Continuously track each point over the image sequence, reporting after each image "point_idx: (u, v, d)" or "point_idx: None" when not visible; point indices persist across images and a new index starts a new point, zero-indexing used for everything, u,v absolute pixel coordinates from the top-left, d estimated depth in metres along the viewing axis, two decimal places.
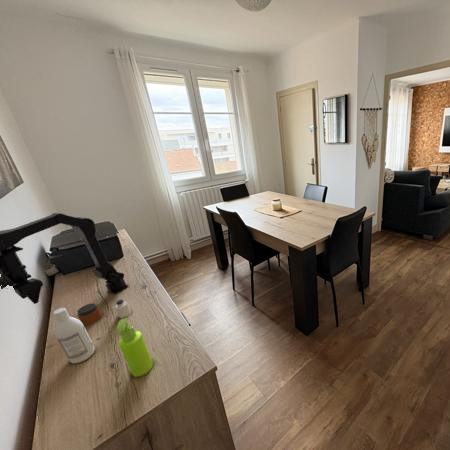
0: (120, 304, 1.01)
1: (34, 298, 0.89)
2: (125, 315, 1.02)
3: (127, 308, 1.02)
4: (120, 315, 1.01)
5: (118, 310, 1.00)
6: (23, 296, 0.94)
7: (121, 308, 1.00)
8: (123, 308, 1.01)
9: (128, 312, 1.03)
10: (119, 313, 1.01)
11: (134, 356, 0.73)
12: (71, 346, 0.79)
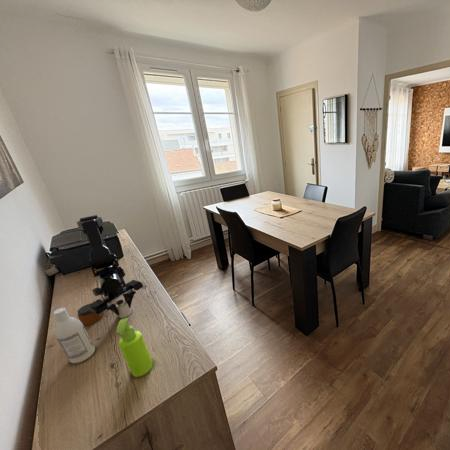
0: (120, 304, 1.01)
1: (114, 311, 1.00)
2: (125, 315, 1.02)
3: (127, 308, 1.02)
4: (120, 315, 1.01)
5: (118, 310, 1.00)
6: None
7: (121, 308, 1.00)
8: (123, 308, 1.01)
9: (128, 312, 1.03)
10: (119, 313, 1.01)
11: (134, 356, 0.73)
12: (71, 346, 0.79)
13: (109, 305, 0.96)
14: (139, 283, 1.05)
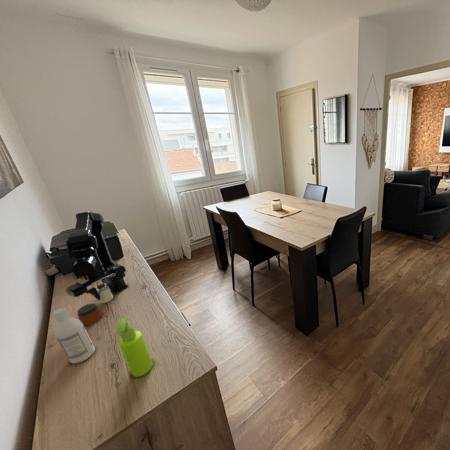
0: (101, 288, 0.97)
1: (95, 296, 0.96)
2: (107, 300, 0.98)
3: (109, 293, 0.99)
4: (101, 300, 0.97)
5: (99, 294, 0.96)
6: None
7: (102, 292, 0.96)
8: (105, 293, 0.97)
9: (110, 297, 0.99)
10: (100, 297, 0.97)
11: (134, 356, 0.73)
12: (71, 346, 0.79)
13: (89, 288, 0.92)
14: (122, 267, 1.02)
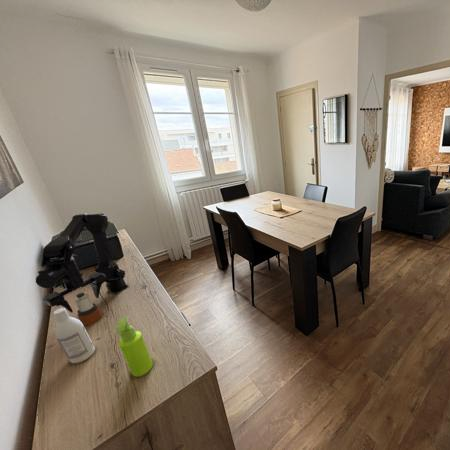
0: (80, 297, 0.97)
1: (66, 308, 0.94)
2: (86, 309, 0.98)
3: (88, 301, 0.98)
4: (81, 309, 0.97)
5: (78, 303, 0.96)
6: (95, 296, 1.02)
7: (81, 301, 0.96)
8: (84, 302, 0.97)
9: (90, 306, 0.99)
10: (79, 306, 0.97)
11: (134, 356, 0.73)
12: (71, 346, 0.79)
13: None
14: (102, 275, 1.01)
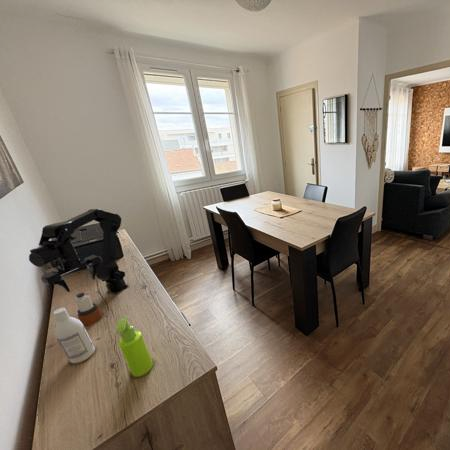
0: (80, 297, 0.97)
1: (64, 288, 0.98)
2: (86, 309, 0.98)
3: (88, 301, 0.98)
4: (81, 309, 0.97)
5: (78, 303, 0.96)
6: (92, 278, 1.07)
7: (81, 301, 0.96)
8: (84, 302, 0.97)
9: (90, 306, 0.99)
10: (79, 306, 0.97)
11: (134, 356, 0.73)
12: (71, 346, 0.79)
13: None
14: (98, 258, 1.06)
